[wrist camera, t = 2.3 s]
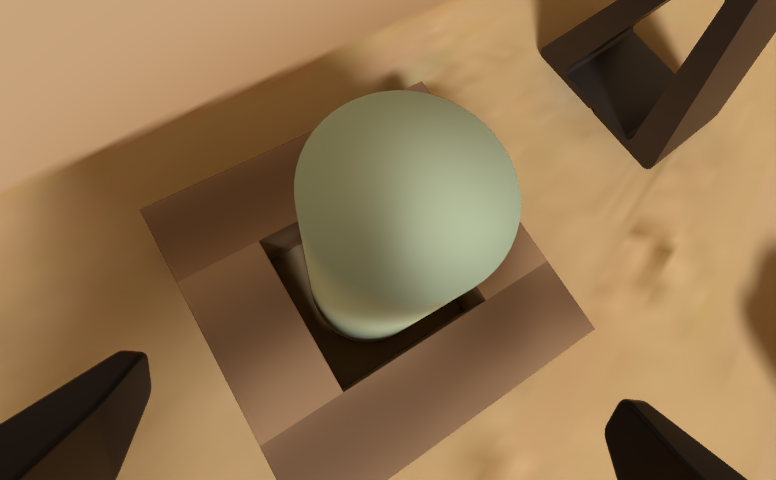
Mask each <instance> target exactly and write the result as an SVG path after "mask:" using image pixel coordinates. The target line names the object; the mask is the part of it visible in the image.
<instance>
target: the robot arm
mask: <svg viewBox="0 0 776 480" xmlns="http://www.w3.org/2000/svg"><path fill="white" fill-rule="evenodd" d="M150 393H151V379H150V372H149V364H148V358H147V355H146V354H145V353H143V352H136V351H126V350H123V351H119V352H117V353H115V354H113V355H112V356H110V357H108V358H107V359H105V360H104V361H102V362H100V363H99V364H97V365H95V366H94V367H92V368H91V369H89V370H87V371H86V372H84V373H82V374H81V375H79V376H78V377H76V378H74V379H73V380H71V381H69V382H68V383H66V384H65V385H63V386H61V387H60V388H58V389H56V390H55V391H53V392H52V393H50V394H48V395H47V396H45V397H43V398H42V399H40V400H39V401H37V402H35V403H34V404H32V405H30V406H29V407H27V408H26V409H24V410H22V411H21V412H19V413H17V414H16V415H14V416H13V417H11V418H9V419H8V420H6V421H4V422H3V423H1V424H0V480H116V478H117V476H118V474H119V471H120V469H121V466H122V464H123V462H124V459H125V457H126V454H127V452H128V449H129V447H130V444H131V442H132V439H133V437H134V434H135V432H136V429H137V427H138V424H139V422H140V420H141V417H142V415H143V412H144V410H145V407H146V405H147V402H148V400H149V397H150ZM605 439H606V443H607V446H608V450H609V453H610V457H611V460H612V463H613V467H614V470H615V474H616V477H617V480H747V479H746V478H745V477H743V476H742V475H741V474H739V473H738V472H737V471H735V470H734V469H733V468H731V467H730V466H729V465H728V464H726V463H725V462H724V461H722V460H721V459H720V458H718V457H717V456H716V455H715V454H713V453H712V452H711V451H709V450H708V449H707V448H705V447H704V446H703V445H702V444H700V443H699V442H698V441H696V440H695V439H694V438H692V437H691V436H690V435H688V434H687V433H686V432H685V431H683V430H682V429H681V428H679V427H678V426H677V425H675V424H674V423H673V422H672V421H670V420H669V419H668V418H666V417H665V416H664V415H662V414H661V413H660V412H658V411H657V410H656V409H655V408H653V407H652V406H651V405H649V404H648V403H647V402H644V401H641V400H631V399H623V400H622V401H620V402H619V404H618V405H617V407H616V409H615V411H614V412H613V414H612V416H611V418H610V419H609V421H608V423H607V425H606V428H605Z"/></svg>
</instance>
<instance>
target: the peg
mask: <svg viewBox="0 0 776 480" xmlns="http://www.w3.org/2000/svg"><path fill="white" fill-rule="evenodd" d="M294 199H295V206H296V213H297V218H298V223H299V228H300V234H301V239H302V244H303V249H304V254H305V260H306V265H307V270H308V275H309V281H310V286H311V291H312V296H313V301H314V304H315V307H316V309H317V311H318V313H319V315H320V317H321V318H322V320H323V321H324V322H325V323H326V325H328V326H329V327H330V328H331V329H332V330H333V331H335V332H336V333H337V334H339V335H341V336H343V337H345V338H348V339H350V340H354V341H359V342H375V341H380V340H384V339H387V338H389V337H391V336H393V335H395V334H397V333H398V332H400V331H402V330H403V329H405V328H407V327H408V326H410V325H412V324H414V323H415V322H417V321H419V320H420V319H422V318H424V317H425V316H427V315H429V314H430V313H432V312H434V311H435V310H437V309H439V308H440V307H442V306H444V305H446V304H447V303H449V302H451V301H452V300H454V299H456V298H457V297H459V296H461V295H462V294H464V293H466V292H467V291H469V290H471V289H472V288H474V287H475V286H477V285H478V284H480V283H481V282H483V281H484V280H485V279H486V278H488V277H489V276H490V275H491V274H492V273H493V272H494V271H495V270H496V269H497V268H498V266H499V265H500V264H501V263H502V261H503V260H504V259H505V257H506V255H507V254H508V252H509V250H510V249H511V247H512V244H513V242H514V239H515V237H516V234H517V230H518V226H519V222H520V214H521V194H520V187H519V181H518V178H517V175H516V171H515V168H514V166H513V164H512V161H511V159H510V157H509V155H508V153H507V152H506V150H505V148H504V146H503V145H502V143H501V142H500V141H499V139H498V138H497V137H496V135H495V134H494V133H493V132H492V131H491V130H490V129H489V128H488V127H487V126H486V125H485V124H484V123H483V122H482V121H481V120H480V119H478V118H477V117H476V116H475V115H473V114H472V113H470V112H469V111H467V110H466V109H464V108H463V107H461V106H459V105H457V104H455V103H453V102H451V101H449V100H446V99H444V98H441V97H438V96H435V95H431V94H427V93H424V92H417V91H409V90H392V91H381V92H377V93H372V94H368V95H365V96H362V97H359V98H356V99H354V100H352V101H350V102H348V103H346V104H344V105H342V106H341V107H339V108H338V109H336V110H334V111H333V112H332V113H331V114H329V115H328V116H327V117H326V118H325V119H324V120H322V122H321V123H320V124H319V125H318V126H317V127H316V128H315V130H314V131H313V132H312V134H311V135H310V137H309V138H308V140H307V141H306V143H305V145H304V147H303V150H302V152H301V154H300V157H299V160H298V163H297V167H296V172H295V179H294Z"/></svg>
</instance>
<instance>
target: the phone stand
mask: <svg viewBox="0 0 776 480" xmlns="http://www.w3.org/2000/svg"><path fill="white" fill-rule="evenodd" d="M668 1H670V0H617V1H615V2H614V3H612V4H611V5H609V6H608V7H606V8H604V9H603V10H601V11H600V12H598V13H597V14H595V15H594V16H592V17H590V18H589V19H587V20H586V21H584V22H583V23H581V24H580V25H578V26H576V27H575V28H573V29H572V30H570V31H569V32H567V33H566V34H564V35H562V36H561V37H559V38H558V39H556V40H555V41H553V42H552V43H550V44H548V45H547V46H545V47H544V48H543V49H542V50H541V55H542V57H543V59H544V60H545V61H546V62H547V63H548V64H549V65H550V66H551V67H552V68H553V70H554V71H555V72H556V73H557V74H558V75H559V76H560V77H561V78H562V79H563V80H564V82H565V83H566V84H567V85H568V86H569V87H570V88H571V89H572V90H573V91H574V92H575V94H576V95H577V96H578V97H579V98H580V99H581V100H582V101H583V102H584V103H585V104H586V106H587V107H588V108H593V109H594V114H595V115H596V116H597V118H598V119H599V120H600V121H601V122H602V123H603V124H604V125H605V126H606V127H607V129H608V130H609V131H610V132H611V133H612V134H613V135H614V136H615V137H616V138H617V139H618V141H619V142H620V143H621V144H622V145H623V146H624V147H625V148H626V149H627V150H628V151H629V153H630V154H631V155H632V156H633V157H634V158H635V159H636V160H637V161H638V162H639V163H640V165H641V166H642V167H643V168H646V169H650V168H652V167H653V166H655V165H656V164H657V163H658V162H659V161H661V160H662V159H663V158H664V157H666V156H667V155H668V154H669V153H671V152H672V151H673V150H674V149H676V148H677V147H678V146H679V145H681V144H682V143H683V142H684V141H686V140H687V139H688V138H689V137H690V136H692V135H693V134H694V133H695V132H697V131H698V130H699V129H700V128H702V127H703V126H704V125H705V124H707V123H708V122H709V121H710V120H712V119H713V118H714V117H715V116H716V115H717V114H718V113H719V111H720V110H721V109H722V107H723V106H724V104H725V103H726V101H727V100H728V99H729V97H730V96H731V94H732V93H733V91H734V90H735V89H736V87H737V86H738V84H739V83H740V82H741V80H742V79H743V77H744V76H745V74H746V73H747V72H748V70H749V69H750V67H751V66H752V65H753V63H754V62H755V60H756V59H757V57H758V56H759V55H760V53H761V52H762V50H763V49H764V48H765V46H766V45H767V43H768V42H769V40H770V39H771V38H772V36H773V35H774V33H775V32H776V0H725V2H724V4H723V5H722V7H721V8H720V10H719V11H718V13H717V14H716V16H715V17H714V19H713V20H712V22H711V23H710V25H709V26H708V28H707V29H706V30H705V32H704V33H703V35H702V36H701V38H700V39H699V41H698V42H697V44H696V45H695V47H694V48H693V50H692V51H691V53H690V54H689V56H688V57H687V58H686V60H685V61H684V63H683V64H682V66H681V67H680V69H679V70H678V72H677V73H676V75H675V74H674V73H673V72H672V71H671V70H670V69H669V68H668V67H667V66H666V65H665V64H664V63H663V62H662V61H661V60H660V59H659V58H658V57H657V56H656V55H655V54H654V53H653V52H652V51H651V50H650V49H649V48H648V46H647V45H646V44H645V43H644V42H643V41H642V40H641V39H640V38H639V37H638V36H637V35H636V34H635V33H634V32H633V26H634V25H635V24H636V23H638V22H639V21H640V20H642V19H643V18H645V17H646V16H648V15H649V14H651V13H652V12H654V11H655V10H657V9H658V8H660V7H661V6H663V5H664V4H665V3H667V2H668Z"/></svg>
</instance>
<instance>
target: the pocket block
mask: <svg viewBox="0 0 776 480" xmlns="http://www.w3.org/2000/svg"><path fill="white" fill-rule="evenodd" d="M404 90H409V91H417V92H424V93H427V94H430V93H429V91H428V90H427V88H426V87H425V85H424V84H423V83H422V82H419V83H417V84H415V85H413V86H411V87H408V88H406V89H404ZM312 132H313V131H312ZM312 132H310V133H307V134H305V135H303V136H301V137H299V138H296V139H294V140H292V141H290V142H288V143H285V144H283V145H281V146H279V147H277V148H275V149H272V150H270V151H268V152H266V153H264V154H261V155H259V156H257V157H255V158H253V159H250V160H248V161H246V162H244V163H242V164H239V165H237V166H235V167H233V168H231V169H228V170H226V171H224V172H222V173H220V174H217V175H215V176H213V177H211V178H209V179H206V180H204V181H202V182H200V183H198V184H195V185H193V186H191V187H189V188H187V189H184V190H182V191H180V192H178V193H176V194H173V195H171V196H169V197H167V198H165V199H163V200H160V201H158V202H156V203H154V204H152V205H149V206H147V207H145V208H143V209H141V210H140V211H141V213H142V215H143V217H144V219H145V221H146V223H147V225H148V227H149V229H150V231H151V233H152V235H153V237H154V239H155V241H156V243H157V245H158V247H159V249H160V251H161V253H162V255H163V257H164V259H165V261H166V263H167V265H168V267H169V268H170V270H171V272H172V274H173V276H174V278H175V280H176V282H177V284H178V286H179V288H180V290H181V292H182V294H183V296H184V298H185V300H186V302H187V304H188V306H189V308H190V310H191V312H192V314H193V316H194V318H195V320H196V322H197V324H198V326H199V328H200V330H201V332H202V334H203V336H204V338H205V339H206V341H207V343H208V345H209V347H210V349H211V351H212V353H213V355H214V357H215V359H216V361H217V363H218V365H219V367H220V369H221V371H222V373H223V375H224V377H225V379H226V381H227V383H228V385H229V387H230V389H231V391H232V393H233V395H234V397H235V399H236V401H237V403H238V405H239V407H240V409H241V411H242V412H243V414H244V416H245V418H246V420H247V422H248V424H249V426H250V428H251V430H252V432H253V434H254V436H255V438H256V440H257V442H258V444H259V446H260V448H261V450H262V452H263V454H264V456H265V458H266V460H267V462H268V464H269V466H270V468H271V470H272V472H273V474H274V476H275V478H276V480H388V479H389V478H391V477H392V476H393V475H395V474H396V473H398V472H399V471H400V470H402V469H403V468H404V467H406V466H407V465H409V464H410V463H411V462H413V461H414V460H415V459H417V458H418V457H420V456H421V455H422V454H424V453H425V452H426V451H428V450H429V449H431V448H432V447H433V446H435V445H436V444H437V443H439V442H440V441H442V440H443V439H444V438H446V437H447V436H448V435H450V434H451V433H453V432H454V431H455V430H457V429H458V428H459V427H461V426H462V425H464V424H465V423H466V422H468V421H469V420H470V419H472V418H473V417H475V416H476V415H477V414H479V413H480V412H481V411H483V410H484V409H486V408H487V407H488V406H490V405H491V404H493V403H494V402H495V401H497V400H498V399H499V398H501V397H502V396H504V395H505V394H506V393H508V392H509V391H510V390H512V389H513V388H515V387H516V386H517V385H519V384H520V383H521V382H523V381H524V380H526V379H527V378H528V377H530V376H531V375H532V374H534V373H535V372H537V371H538V370H539V369H541V368H542V367H543V366H545V365H546V364H548V363H549V362H550V361H552V360H553V359H554V358H556V357H557V356H559V355H560V354H561V353H563V352H564V351H565V350H567V349H568V348H570V347H571V346H572V345H574V344H575V343H576V342H578V341H579V340H581V339H582V338H583V337H585V336H586V335H587V334H589V333H590V332H592V331H593V330H594V329H595V328H594V327H593V325H592V324H591V323H590V321H589V320H588V318H587V317H586V315H585V314H584V313H583V311H582V310H581V308H580V307H579V305H578V304H577V303H576V301H575V300H574V298H573V297H572V295H571V294H570V293H569V291H568V290H567V288H566V287H565V285H564V284H563V283H562V281H561V280H560V278H559V277H558V275H557V274H556V273H555V271H554V270H553V268H552V267H551V265H550V264H549V263H548V261H547V260H546V258H545V257H544V255H543V254H542V253H541V251H540V250H539V248H538V247H537V245H536V244H535V243H534V241H533V240H532V238H531V237H530V235H529V234H528V233H527V231H526V230H525V228H524V227H523V225H522V224H521V223H520V222H519V226H518V230H517V234H516V237H515V239H514V242H513V244H512V247H511V249H510V250H509V252H508V254H507V255H506V257H505V259H504V260H503V261H502V263H501V264H500V265H499V266H498V268H497V269H496V270H495V271H494V272H493V273H492V274H491V275H490V276H489V277H488V278H486V279H485V280H484V281H483V282H481V283H480V284H478V285H477V286H475V287H474V288H472V289H471V290H469V291H467V292H466V293H464V294H462V295H461V296H459V297H457V298H456V300H457V301H458V303H459V304H460V306H461V307H462V309H463V312H461V313H460V314H458V315H457V316H455V317H454V318H452V319H450V320H449V321H447V322H446V323H444V324H443V325H441V326H440V327H438V328H436V329H435V330H433V331H432V332H430V333H429V334H427V335H425V336H424V337H422V338H421V339H419V340H418V341H416V342H415V343H413V344H411V345H410V346H408V347H407V348H405V349H404V350H402V351H401V352H399V353H397V354H396V355H394V356H393V357H391V358H390V359H388V360H387V361H385V362H383V363H382V364H380V365H379V366H377V367H376V368H374V369H373V370H371V371H369V372H368V373H366V374H365V375H363V376H362V377H360V378H359V379H357V380H355V381H354V382H352V383H351V384H349V385H348V386H346V387H344V388H343V389H341V387H340V386H339V384H338V382H337V380H336V378H335V377H334V375H333V373H332V371H331V369H330V368H329V366H328V364H327V362H326V361H325V359H324V357H323V355H322V353H321V352H320V350H319V348H318V346H317V344H316V343H315V341H314V339H313V337H312V336H311V334H310V332H309V330H308V328H307V327H306V325H305V323H304V321H303V319H302V318H301V316H300V314H299V312H298V310H297V309H296V307H295V305H294V303H293V302H292V300H291V298H290V296H289V294H288V293H287V291H286V289H285V287H284V285H283V284H282V282H281V280H280V278H279V277H278V275H277V273H276V271H275V269H274V268H273V266H272V264H271V262H270V259H272V258H274V257H276V256H278V255H280V254H282V253H283V252H285V251H287V250H289V249H291V248H293V247H295V246H297V245H299V244H301V243H302V239H301V234H300V228H299V223H298V218H297V213H296V206H295V199H294V179H295V172H296V167H297V163H298V160H299V157H300V154H301V152H302V150H303V147H304V145H305V143H306V141H307V140H308V138H309V137H310V135H311V134H312Z"/></svg>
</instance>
